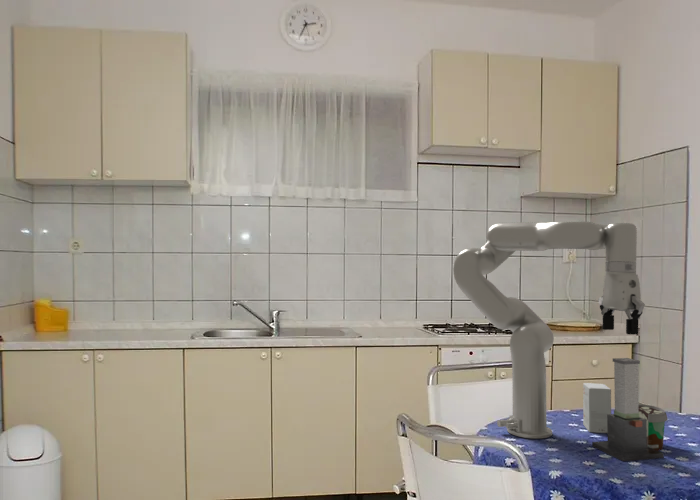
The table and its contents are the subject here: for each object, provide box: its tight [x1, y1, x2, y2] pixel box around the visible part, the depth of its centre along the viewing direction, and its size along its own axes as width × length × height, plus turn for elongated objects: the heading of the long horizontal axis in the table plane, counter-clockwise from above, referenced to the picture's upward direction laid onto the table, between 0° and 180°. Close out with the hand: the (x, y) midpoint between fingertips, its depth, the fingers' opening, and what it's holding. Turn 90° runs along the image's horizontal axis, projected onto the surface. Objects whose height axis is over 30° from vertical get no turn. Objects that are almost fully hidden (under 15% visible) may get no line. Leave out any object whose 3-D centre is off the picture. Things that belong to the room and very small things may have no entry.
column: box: [612, 357, 641, 420], centre depth 149 cm, size 5×5×17 cm
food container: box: [638, 403, 669, 451], centre depth 153 cm, size 12×6×10 cm, turn 168°
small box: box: [582, 382, 612, 434], centre depth 169 cm, size 8×6×13 cm
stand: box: [591, 413, 665, 462], centre depth 148 cm, size 12×12×9 cm
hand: (619, 331), depth 152 cm, fingers open, 9 cm apart
